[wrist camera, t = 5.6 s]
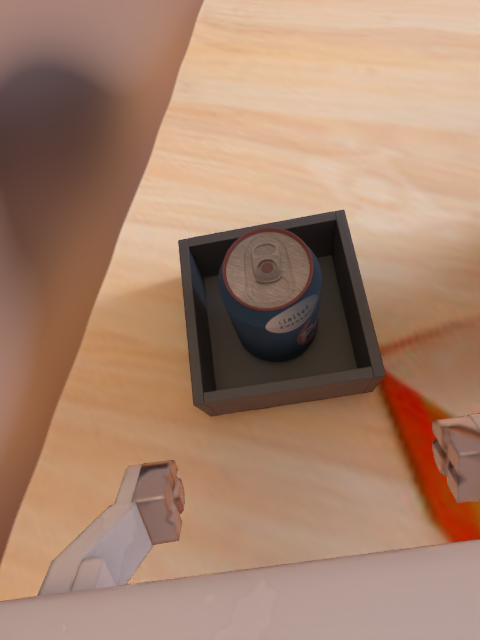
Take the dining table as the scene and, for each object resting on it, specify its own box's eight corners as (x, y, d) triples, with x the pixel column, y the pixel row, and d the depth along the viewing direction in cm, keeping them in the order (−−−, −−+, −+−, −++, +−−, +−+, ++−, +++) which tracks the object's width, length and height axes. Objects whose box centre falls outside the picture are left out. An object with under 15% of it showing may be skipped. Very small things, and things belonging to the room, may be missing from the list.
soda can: (323, 359, 37) (332, 309, 26) (242, 370, 38) (218, 326, 27) (309, 285, 40) (312, 210, 29) (234, 297, 40) (208, 228, 29)
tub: (338, 247, 41) (344, 209, 35) (372, 391, 36) (386, 375, 30) (195, 272, 42) (177, 239, 36) (210, 416, 37) (193, 405, 31)
